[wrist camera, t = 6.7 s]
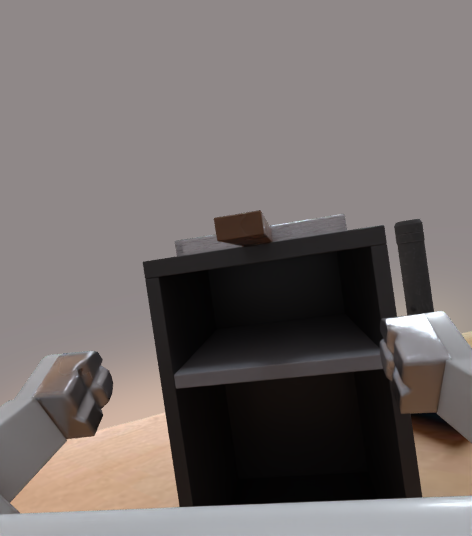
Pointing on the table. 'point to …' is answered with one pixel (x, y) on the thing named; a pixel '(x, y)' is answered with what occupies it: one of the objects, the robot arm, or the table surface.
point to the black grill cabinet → (281, 372)
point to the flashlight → (414, 266)
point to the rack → (256, 232)
